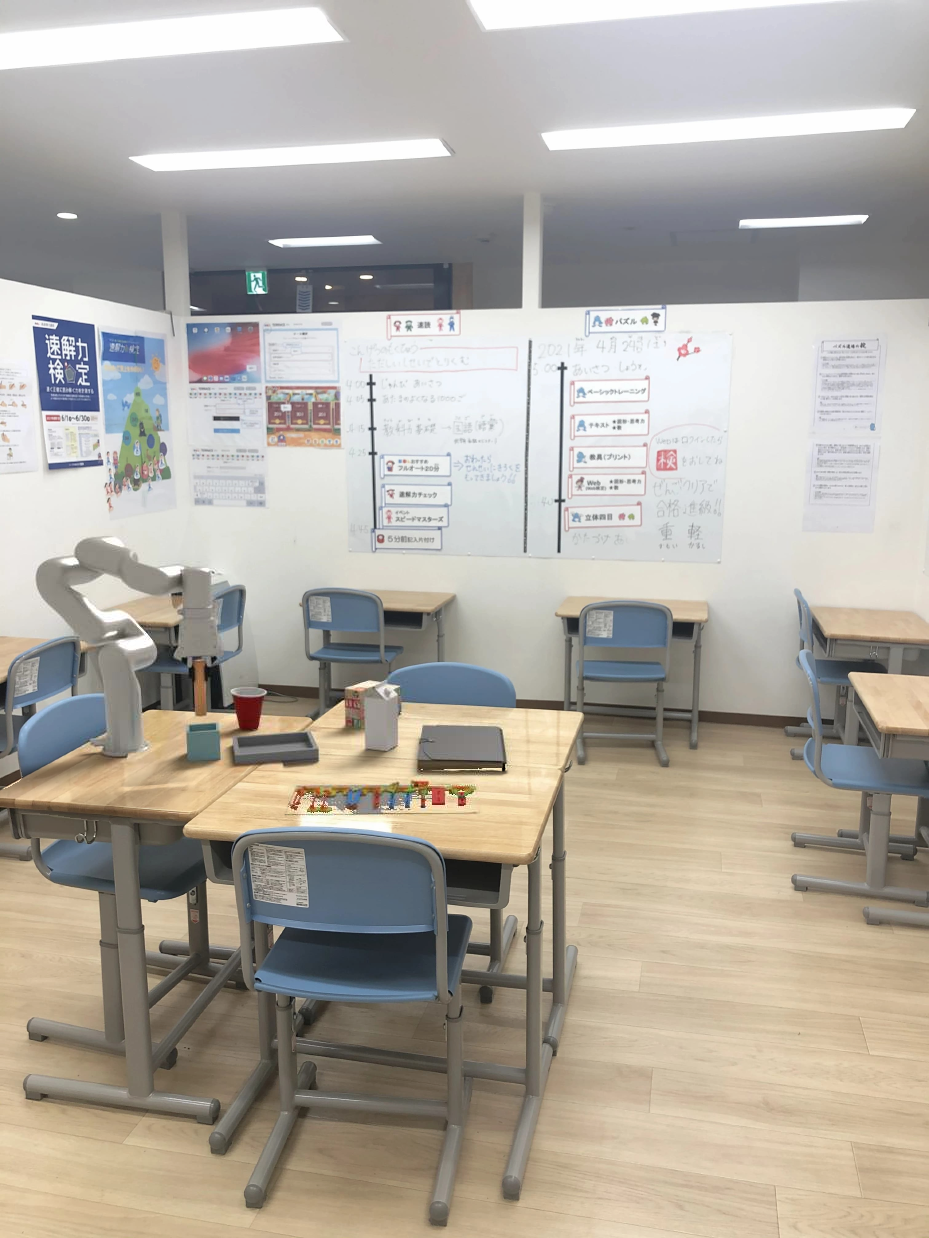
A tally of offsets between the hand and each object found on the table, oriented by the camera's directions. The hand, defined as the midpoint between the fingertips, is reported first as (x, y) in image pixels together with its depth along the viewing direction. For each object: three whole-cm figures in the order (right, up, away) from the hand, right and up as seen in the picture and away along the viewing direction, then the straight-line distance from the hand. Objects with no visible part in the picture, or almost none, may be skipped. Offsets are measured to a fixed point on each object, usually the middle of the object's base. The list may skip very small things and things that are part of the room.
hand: (199, 679), depth 248 cm
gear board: (+52, -28, -26) cm, 65 cm away
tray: (+19, -21, +8) cm, 29 cm away
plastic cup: (+6, -17, +34) cm, 39 cm away
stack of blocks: (+43, -16, +45) cm, 64 cm away
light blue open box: (0, -22, +3) cm, 22 cm away
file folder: (+71, -22, +11) cm, 75 cm away
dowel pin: (0, -10, +2) cm, 10 cm away
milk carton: (+48, -20, +15) cm, 54 cm away
